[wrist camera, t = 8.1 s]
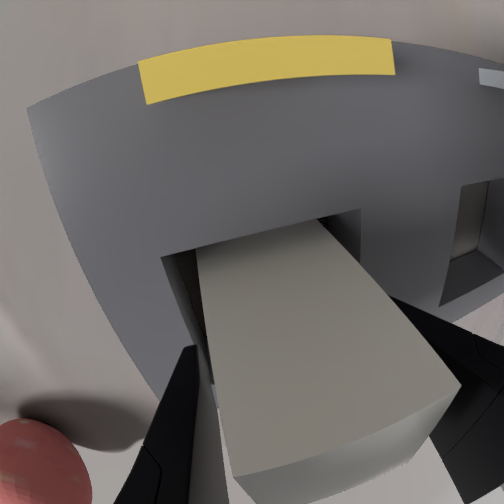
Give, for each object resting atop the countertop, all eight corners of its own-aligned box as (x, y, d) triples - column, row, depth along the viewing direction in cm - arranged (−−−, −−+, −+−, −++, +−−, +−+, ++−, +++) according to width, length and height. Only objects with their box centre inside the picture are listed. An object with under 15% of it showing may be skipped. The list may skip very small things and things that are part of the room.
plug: (305, 208, 11) (461, 385, 4) (312, 295, 13) (408, 461, 6) (194, 235, 10) (233, 477, 4) (219, 321, 12) (266, 514, 6)
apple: (113, 449, 16) (118, 551, 10) (43, 453, 16) (38, 538, 9) (43, 390, 12) (23, 521, 6) (-23, 399, 12) (-46, 497, 5)
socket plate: (510, 73, 9) (594, 95, 5) (490, 264, 15) (546, 312, 11) (62, 102, 7) (-51, 126, 2) (169, 373, 13) (178, 480, 9)
